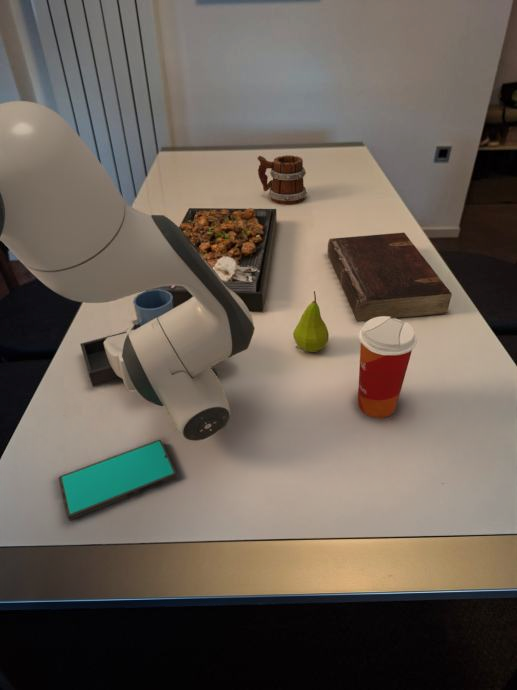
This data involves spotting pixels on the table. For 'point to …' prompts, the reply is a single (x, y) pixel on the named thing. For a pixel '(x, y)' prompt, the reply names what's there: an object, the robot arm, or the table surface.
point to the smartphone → (115, 479)
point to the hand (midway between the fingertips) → (155, 318)
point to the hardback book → (387, 277)
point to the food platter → (232, 250)
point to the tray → (98, 361)
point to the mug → (284, 179)
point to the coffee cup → (383, 364)
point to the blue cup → (152, 305)
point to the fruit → (311, 329)
